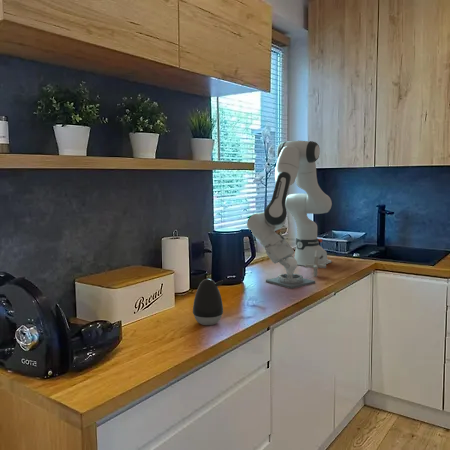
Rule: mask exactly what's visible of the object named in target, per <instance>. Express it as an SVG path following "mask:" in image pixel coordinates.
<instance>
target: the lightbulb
mask: <svg viewBox="0 0 450 450" xmlns="http://www.w3.org/2000/svg"><path fill="white" fill-rule="evenodd" d="M293 257H294V256H293ZM293 257H287V258H286V259H284V261H285V262H286V263H288V264H289V265H290V267H289V268H287V269H286V268H285V267H284V266H283V267H284V270H285V271H286V273H285V274H287V278H290V279H292V278H293V274H295V273H294V272H295V270H296V269H297V267H298V265H297V261H296V259H295V258H293Z"/></svg>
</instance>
